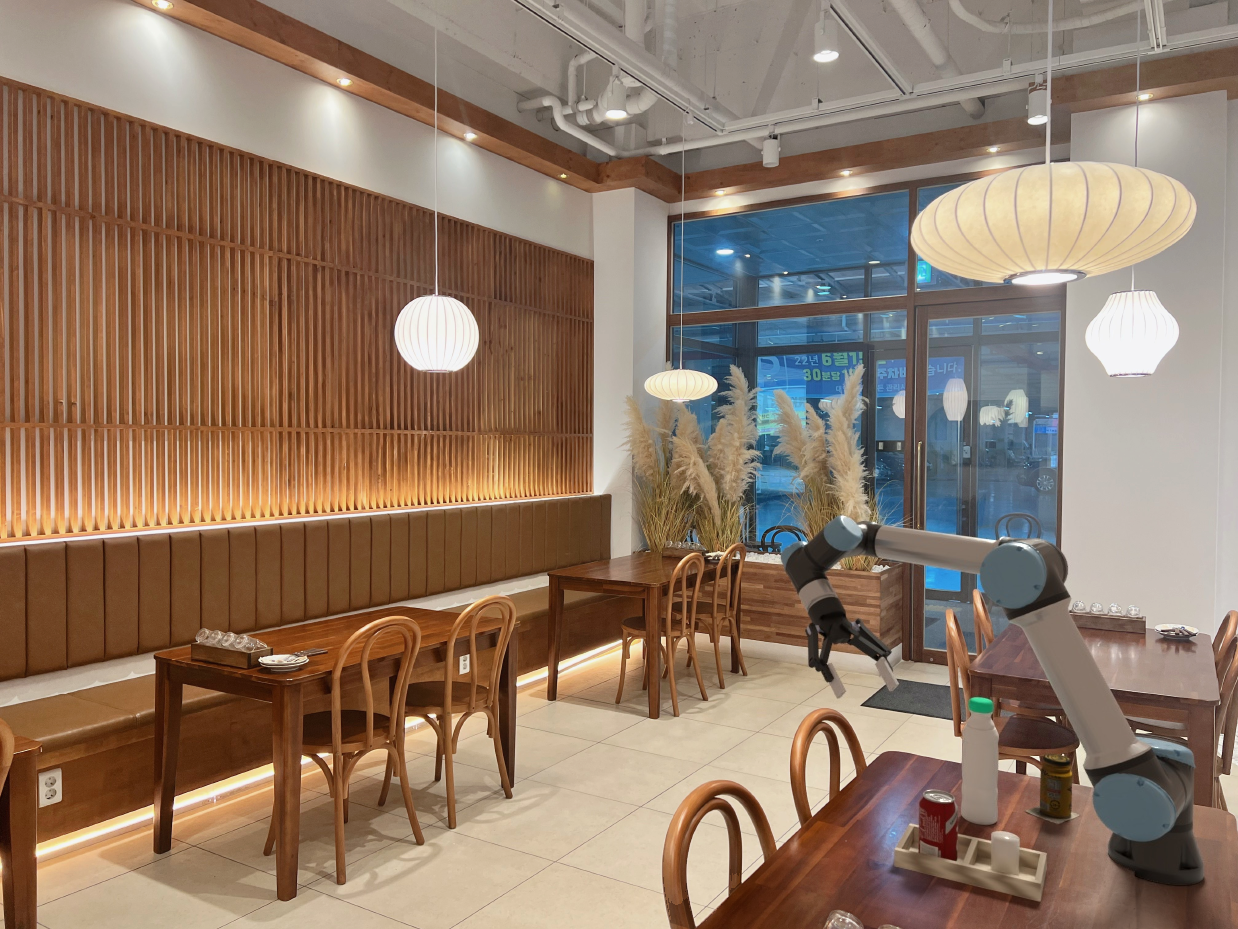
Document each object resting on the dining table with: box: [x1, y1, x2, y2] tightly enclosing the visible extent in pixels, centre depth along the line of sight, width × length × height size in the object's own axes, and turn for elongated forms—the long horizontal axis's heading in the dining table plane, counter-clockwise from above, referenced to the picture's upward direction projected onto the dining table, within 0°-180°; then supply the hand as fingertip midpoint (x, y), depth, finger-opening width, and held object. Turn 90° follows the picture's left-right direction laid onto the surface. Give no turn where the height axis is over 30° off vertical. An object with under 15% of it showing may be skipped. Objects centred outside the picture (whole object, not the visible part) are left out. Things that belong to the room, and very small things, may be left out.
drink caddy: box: [893, 823, 1048, 903], centre depth 157 cm, size 24×13×4 cm, turn 60°
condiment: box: [1025, 753, 1081, 825], centre depth 184 cm, size 7×8×12 cm
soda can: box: [918, 789, 959, 862], centre depth 160 cm, size 7×7×12 cm
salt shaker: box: [990, 830, 1021, 876], centre depth 155 cm, size 5×5×7 cm
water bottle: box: [960, 696, 1000, 826], centre depth 181 cm, size 7×7×25 cm
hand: (868, 691), depth 176 cm, fingers open, 13 cm apart
